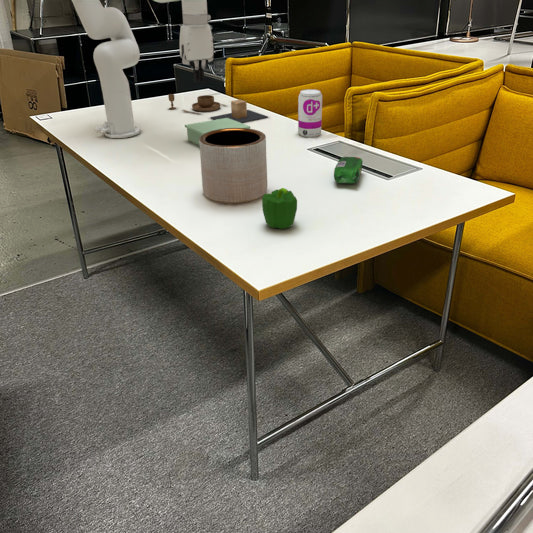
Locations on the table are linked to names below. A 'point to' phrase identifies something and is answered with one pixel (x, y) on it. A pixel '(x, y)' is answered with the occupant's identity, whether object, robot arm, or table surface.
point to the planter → (233, 164)
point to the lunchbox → (193, 136)
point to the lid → (215, 125)
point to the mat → (250, 117)
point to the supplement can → (309, 113)
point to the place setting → (200, 103)
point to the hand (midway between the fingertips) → (199, 81)
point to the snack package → (348, 170)
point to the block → (239, 109)
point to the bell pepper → (279, 208)
